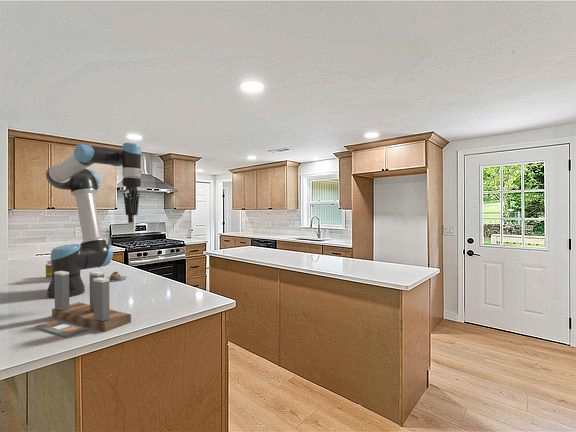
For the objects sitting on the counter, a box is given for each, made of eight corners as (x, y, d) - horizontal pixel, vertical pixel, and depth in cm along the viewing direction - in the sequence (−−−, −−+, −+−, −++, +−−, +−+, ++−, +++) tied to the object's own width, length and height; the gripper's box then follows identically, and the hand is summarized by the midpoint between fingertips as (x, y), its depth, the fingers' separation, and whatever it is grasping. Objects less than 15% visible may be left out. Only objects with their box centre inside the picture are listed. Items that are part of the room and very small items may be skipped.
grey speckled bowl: (101, 279, 189) (100, 272, 188) (123, 276, 197) (123, 269, 197) (107, 283, 180) (107, 275, 180) (130, 280, 189) (130, 272, 189)
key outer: (100, 316, 116) (100, 277, 116) (109, 319, 114) (109, 278, 114) (93, 318, 114) (92, 278, 114) (102, 321, 112) (102, 280, 111)
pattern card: (35, 327, 114) (35, 325, 114) (57, 321, 121) (57, 319, 121) (65, 337, 106) (65, 334, 106) (86, 330, 112) (86, 327, 112)
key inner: (61, 306, 127) (61, 270, 127) (69, 308, 125) (69, 272, 124) (54, 308, 125) (54, 272, 124) (62, 310, 123) (61, 273, 122)
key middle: (96, 307, 127) (95, 271, 127) (104, 309, 125) (104, 272, 124) (89, 308, 125) (89, 272, 124) (98, 311, 123) (97, 273, 122)
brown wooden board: (52, 316, 125) (51, 309, 125) (78, 309, 134) (78, 302, 134) (105, 331, 111) (105, 323, 111) (131, 322, 120) (130, 314, 120)
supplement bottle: (43, 278, 189) (43, 261, 188) (48, 276, 194) (48, 259, 194) (54, 278, 190) (54, 260, 190) (59, 276, 195) (58, 259, 195)
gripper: (134, 176, 142) (134, 230, 143) (145, 179, 155) (145, 228, 156) (116, 176, 141) (116, 230, 142) (129, 178, 154) (129, 228, 155)
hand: (131, 229), depth 149 cm, fingers closed
